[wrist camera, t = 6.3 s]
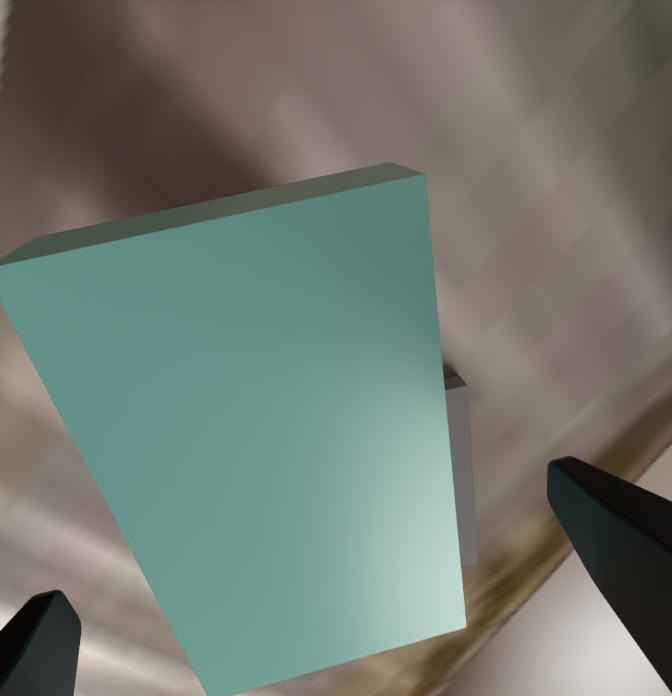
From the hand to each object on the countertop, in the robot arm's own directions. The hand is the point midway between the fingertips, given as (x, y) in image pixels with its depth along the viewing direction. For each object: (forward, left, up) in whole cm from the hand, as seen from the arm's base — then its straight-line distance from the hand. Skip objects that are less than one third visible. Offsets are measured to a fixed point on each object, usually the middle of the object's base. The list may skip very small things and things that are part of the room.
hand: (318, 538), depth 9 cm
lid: (0, 0, -3) cm, 3 cm away
